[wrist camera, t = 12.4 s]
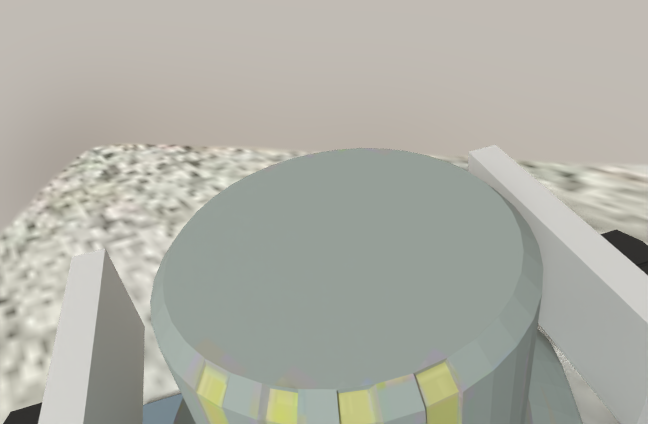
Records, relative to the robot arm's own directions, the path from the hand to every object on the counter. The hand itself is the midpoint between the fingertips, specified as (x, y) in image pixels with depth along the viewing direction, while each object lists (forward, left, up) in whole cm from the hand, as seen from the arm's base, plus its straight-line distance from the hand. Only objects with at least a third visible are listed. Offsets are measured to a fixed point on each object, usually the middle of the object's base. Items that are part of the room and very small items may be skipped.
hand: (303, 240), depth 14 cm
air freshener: (0, +4, -7) cm, 8 cm away
